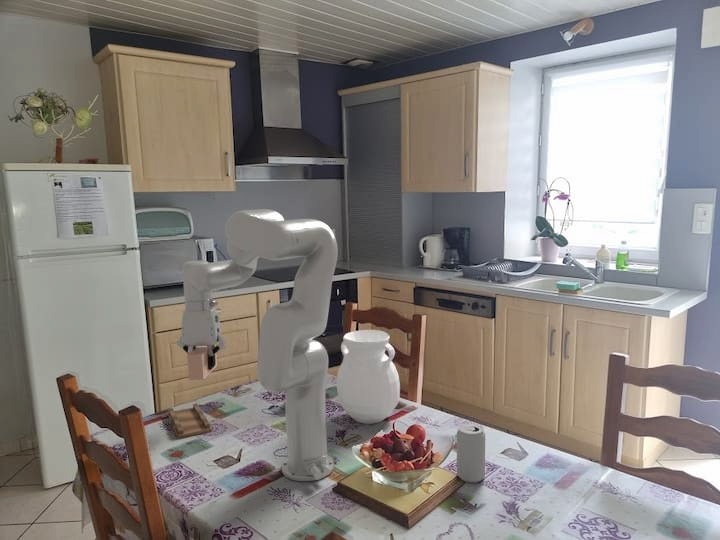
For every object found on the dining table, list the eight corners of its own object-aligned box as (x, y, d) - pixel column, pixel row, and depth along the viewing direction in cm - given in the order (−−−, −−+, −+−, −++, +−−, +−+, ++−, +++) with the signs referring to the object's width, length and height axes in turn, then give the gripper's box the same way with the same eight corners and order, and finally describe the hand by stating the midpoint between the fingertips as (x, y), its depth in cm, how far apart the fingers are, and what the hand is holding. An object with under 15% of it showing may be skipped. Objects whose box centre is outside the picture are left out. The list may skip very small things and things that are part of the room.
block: (217, 365, 158) (215, 342, 157) (203, 379, 146) (201, 355, 145) (203, 365, 158) (202, 342, 157) (189, 379, 146) (187, 355, 145)
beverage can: (483, 486, 120) (483, 435, 118) (454, 481, 122) (454, 432, 120) (486, 472, 126) (487, 424, 124) (459, 468, 128) (459, 420, 126)
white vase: (324, 422, 155) (321, 338, 152) (359, 401, 170) (358, 324, 167) (379, 437, 145) (377, 347, 141) (411, 413, 160) (411, 331, 156)
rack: (211, 431, 151) (211, 424, 151) (178, 439, 147) (177, 431, 146) (198, 409, 167) (197, 402, 166) (167, 415, 162) (167, 408, 162)
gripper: (232, 302, 152) (236, 364, 155) (176, 302, 154) (180, 363, 156) (223, 308, 144) (227, 373, 147) (164, 308, 146) (168, 372, 149)
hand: (203, 367), depth 152 cm, fingers closed on block, 4 cm apart
